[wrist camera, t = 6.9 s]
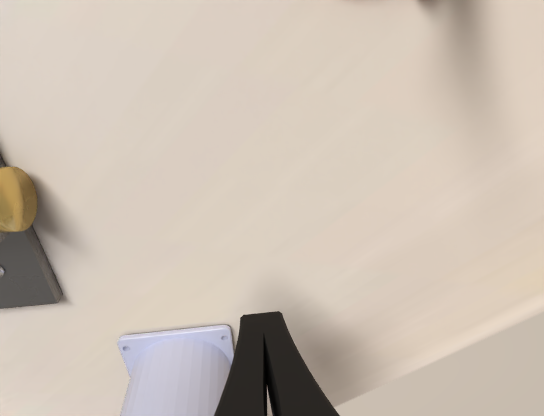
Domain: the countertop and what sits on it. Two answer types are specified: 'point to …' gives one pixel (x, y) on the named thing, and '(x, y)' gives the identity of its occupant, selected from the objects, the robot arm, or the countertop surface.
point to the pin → (16, 200)
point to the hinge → (25, 270)
